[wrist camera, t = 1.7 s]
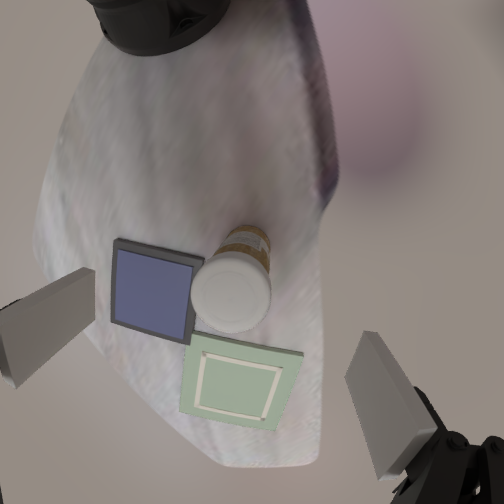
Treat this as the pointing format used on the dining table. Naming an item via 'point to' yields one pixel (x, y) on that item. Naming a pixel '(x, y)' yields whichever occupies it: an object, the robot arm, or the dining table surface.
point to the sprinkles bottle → (235, 283)
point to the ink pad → (153, 290)
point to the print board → (237, 381)
